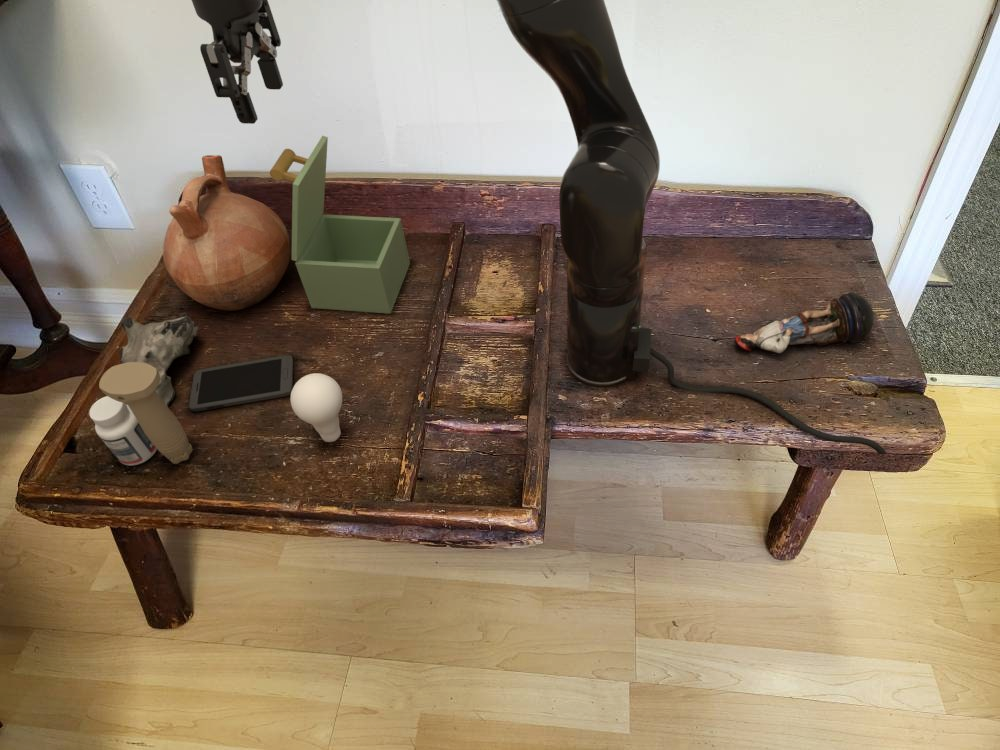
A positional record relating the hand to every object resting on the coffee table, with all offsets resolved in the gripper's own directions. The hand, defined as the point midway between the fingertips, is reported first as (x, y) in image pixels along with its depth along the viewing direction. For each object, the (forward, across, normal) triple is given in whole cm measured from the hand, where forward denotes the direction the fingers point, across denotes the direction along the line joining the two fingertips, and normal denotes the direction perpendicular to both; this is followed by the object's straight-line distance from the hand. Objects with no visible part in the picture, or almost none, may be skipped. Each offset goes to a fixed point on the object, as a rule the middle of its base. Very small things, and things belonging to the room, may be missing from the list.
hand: (262, 104), depth 92 cm
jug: (+30, -2, +13) cm, 33 cm away
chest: (+30, 0, -6) cm, 31 cm away
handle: (+30, -34, +8) cm, 46 cm away
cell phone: (+30, -22, +4) cm, 37 cm away
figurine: (+30, -5, -70) cm, 77 cm away
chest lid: (+14, 0, -3) cm, 15 cm away
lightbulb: (+30, -29, -12) cm, 43 cm away
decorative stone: (+30, -20, +16) cm, 40 cm away
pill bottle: (+30, -34, +14) cm, 47 cm away
